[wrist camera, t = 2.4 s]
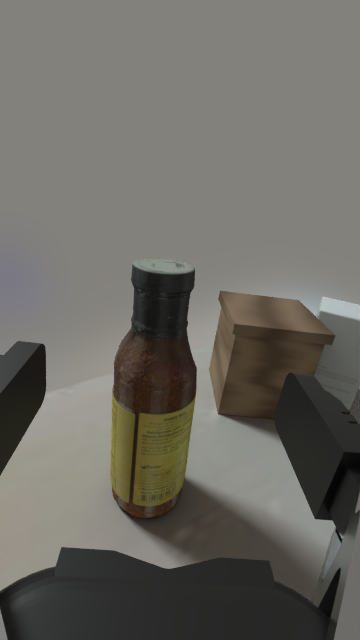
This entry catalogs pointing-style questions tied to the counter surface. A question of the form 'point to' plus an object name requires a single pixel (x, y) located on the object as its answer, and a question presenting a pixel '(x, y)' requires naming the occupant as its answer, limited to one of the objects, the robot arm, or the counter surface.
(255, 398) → the brown wooden box
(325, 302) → the supplement box
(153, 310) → the sauce bottle
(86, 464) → the counter surface
